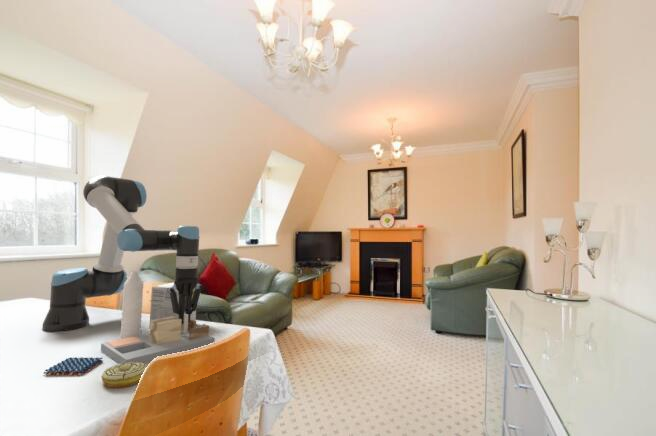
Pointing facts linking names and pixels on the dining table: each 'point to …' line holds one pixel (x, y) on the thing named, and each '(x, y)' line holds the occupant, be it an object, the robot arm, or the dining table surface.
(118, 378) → the decorated donut
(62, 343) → the dining table surface
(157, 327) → the block
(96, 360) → the woven mat
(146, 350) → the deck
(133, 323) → the water bottle
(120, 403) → the dining table surface
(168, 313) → the supplement box
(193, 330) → the walls
